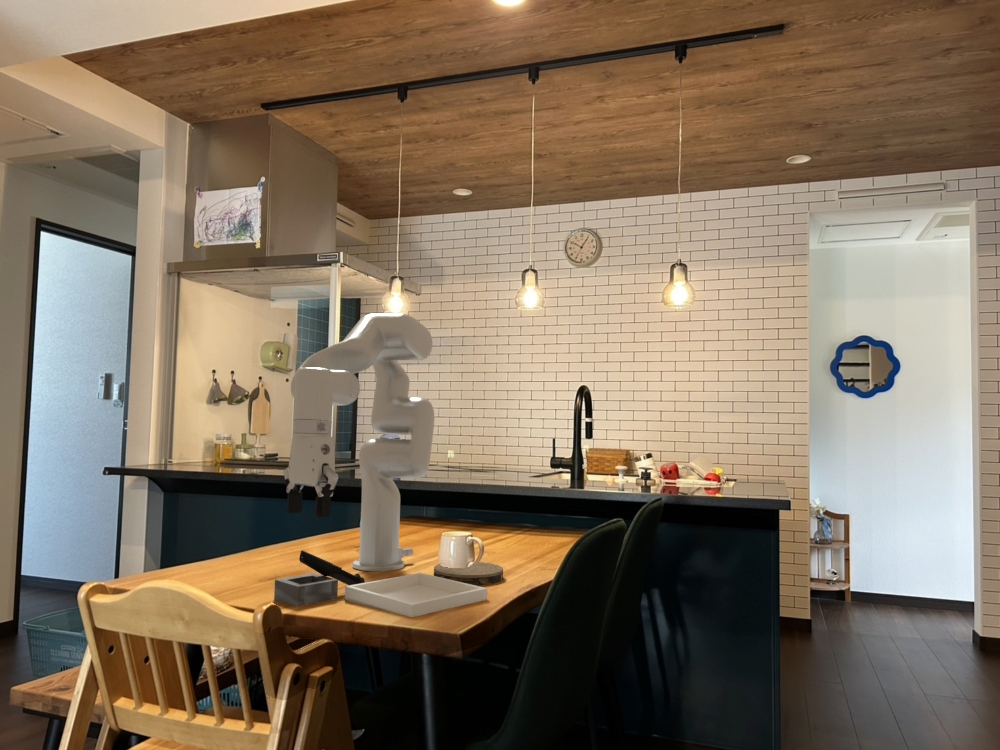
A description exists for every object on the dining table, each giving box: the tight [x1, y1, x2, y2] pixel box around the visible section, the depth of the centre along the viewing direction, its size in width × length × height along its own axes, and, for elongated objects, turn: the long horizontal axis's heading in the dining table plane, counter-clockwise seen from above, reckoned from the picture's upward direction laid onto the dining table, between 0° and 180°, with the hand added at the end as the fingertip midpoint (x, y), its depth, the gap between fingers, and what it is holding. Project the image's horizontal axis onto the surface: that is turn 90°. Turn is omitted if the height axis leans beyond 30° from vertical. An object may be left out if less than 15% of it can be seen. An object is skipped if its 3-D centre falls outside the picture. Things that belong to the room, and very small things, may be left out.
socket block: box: [273, 572, 339, 607], centre depth 153 cm, size 9×8×4 cm
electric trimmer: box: [299, 550, 366, 586], centre depth 157 cm, size 4×16×3 cm, turn 125°
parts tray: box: [344, 572, 488, 618], centre depth 153 cm, size 20×20×3 cm
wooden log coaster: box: [433, 561, 504, 586], centre depth 175 cm, size 16×16×3 cm
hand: (308, 514), depth 153 cm, fingers open, 9 cm apart
